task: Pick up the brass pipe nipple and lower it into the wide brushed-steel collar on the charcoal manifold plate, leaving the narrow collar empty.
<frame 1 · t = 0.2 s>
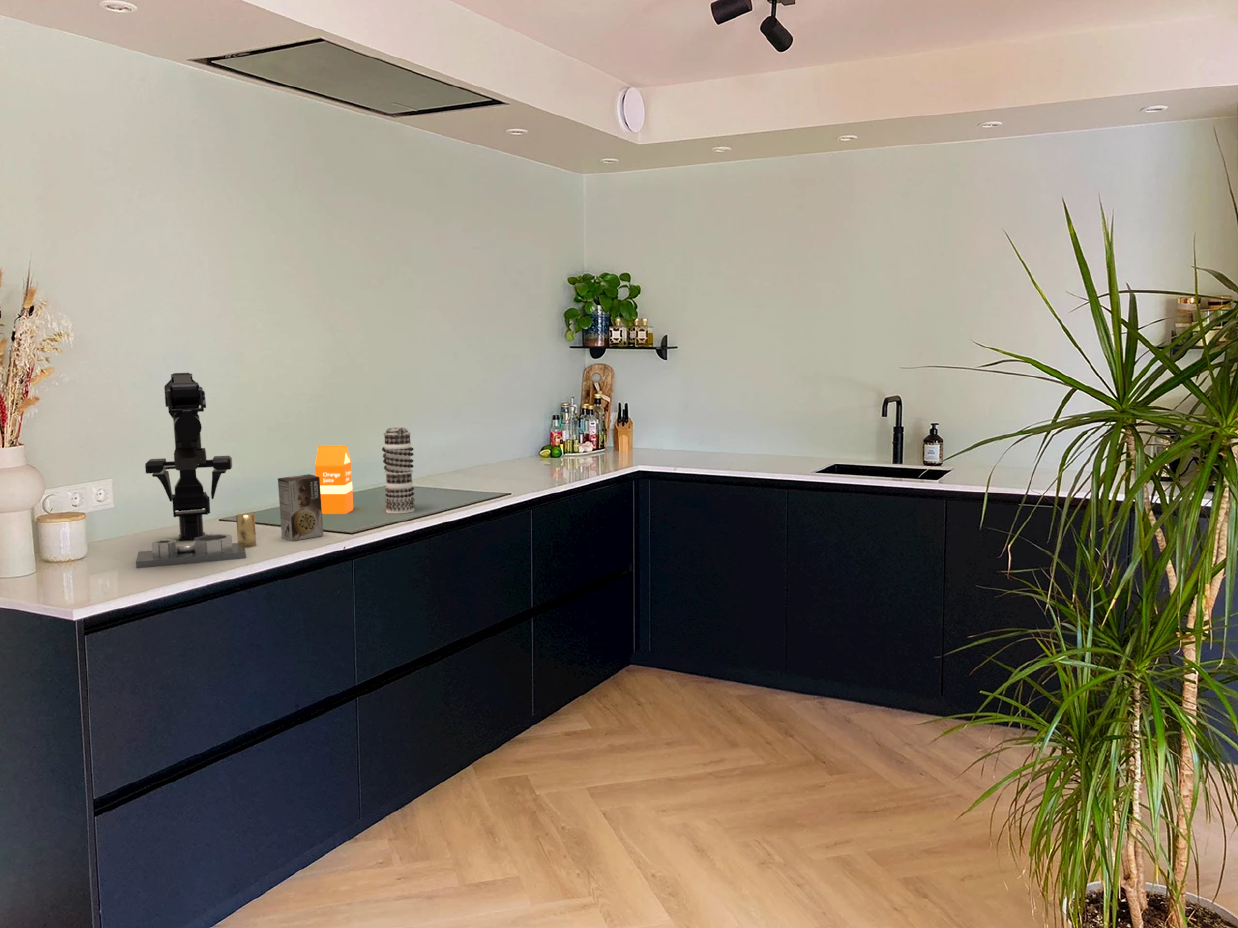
hand: (192, 500, 244), 14 cm above the worktop, fingers open, 9 cm apart
coffee box: (302, 537, 270), on the worktop
manifold: (192, 557, 247), on the worktop
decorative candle: (400, 511, 307), on the worktop
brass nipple: (247, 545, 260), on the worktop
orange juice: (335, 512, 307), on the worktop
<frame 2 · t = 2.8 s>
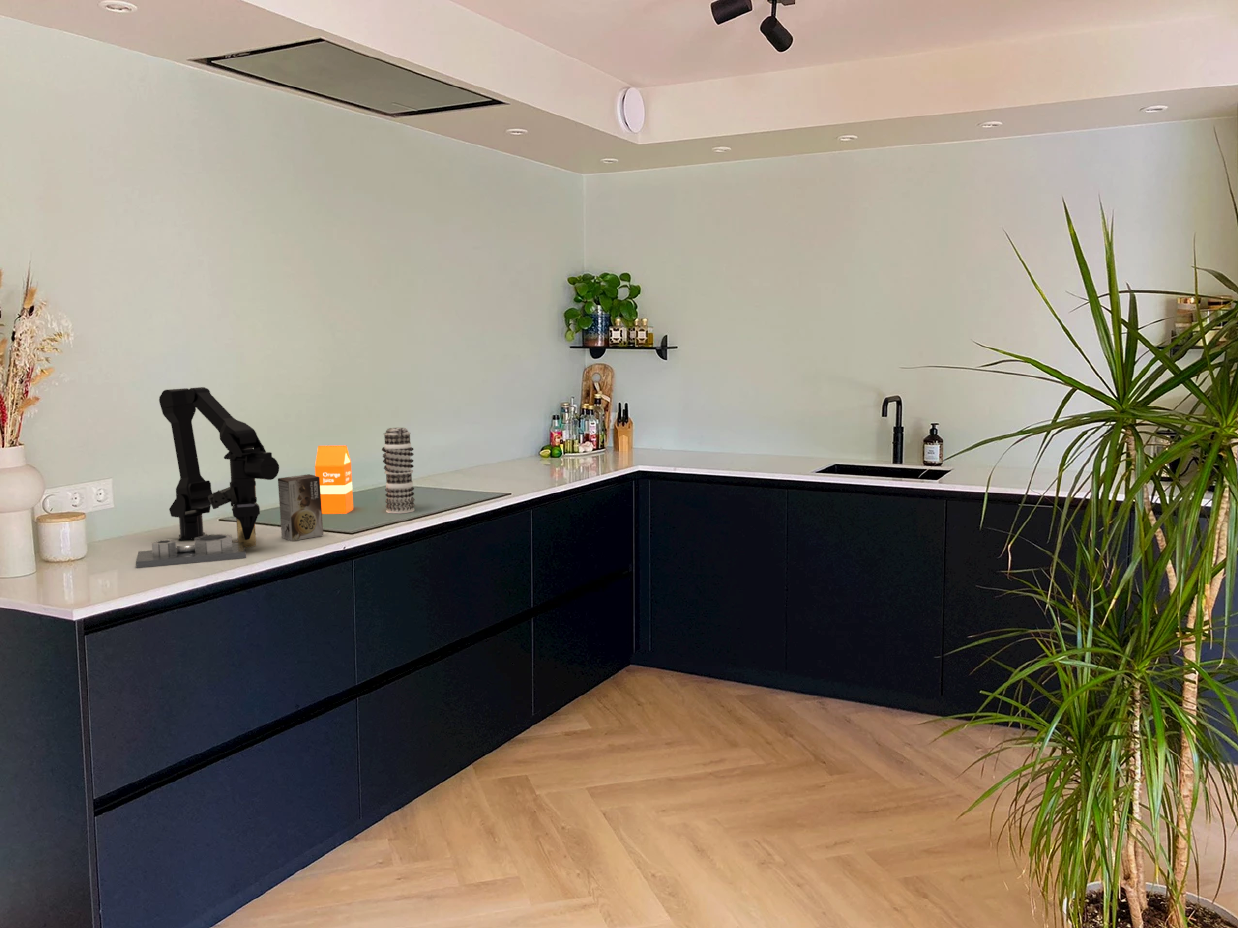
hand: (246, 537, 260), 2 cm above the worktop, fingers closed on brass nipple, 4 cm apart
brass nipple: (247, 545, 260), on the worktop, touching gripper
everything else where it was.
when the fingers open (5 cm above the worktop, at t = 6.9 s): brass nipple drops 2 cm, resting on manifold.
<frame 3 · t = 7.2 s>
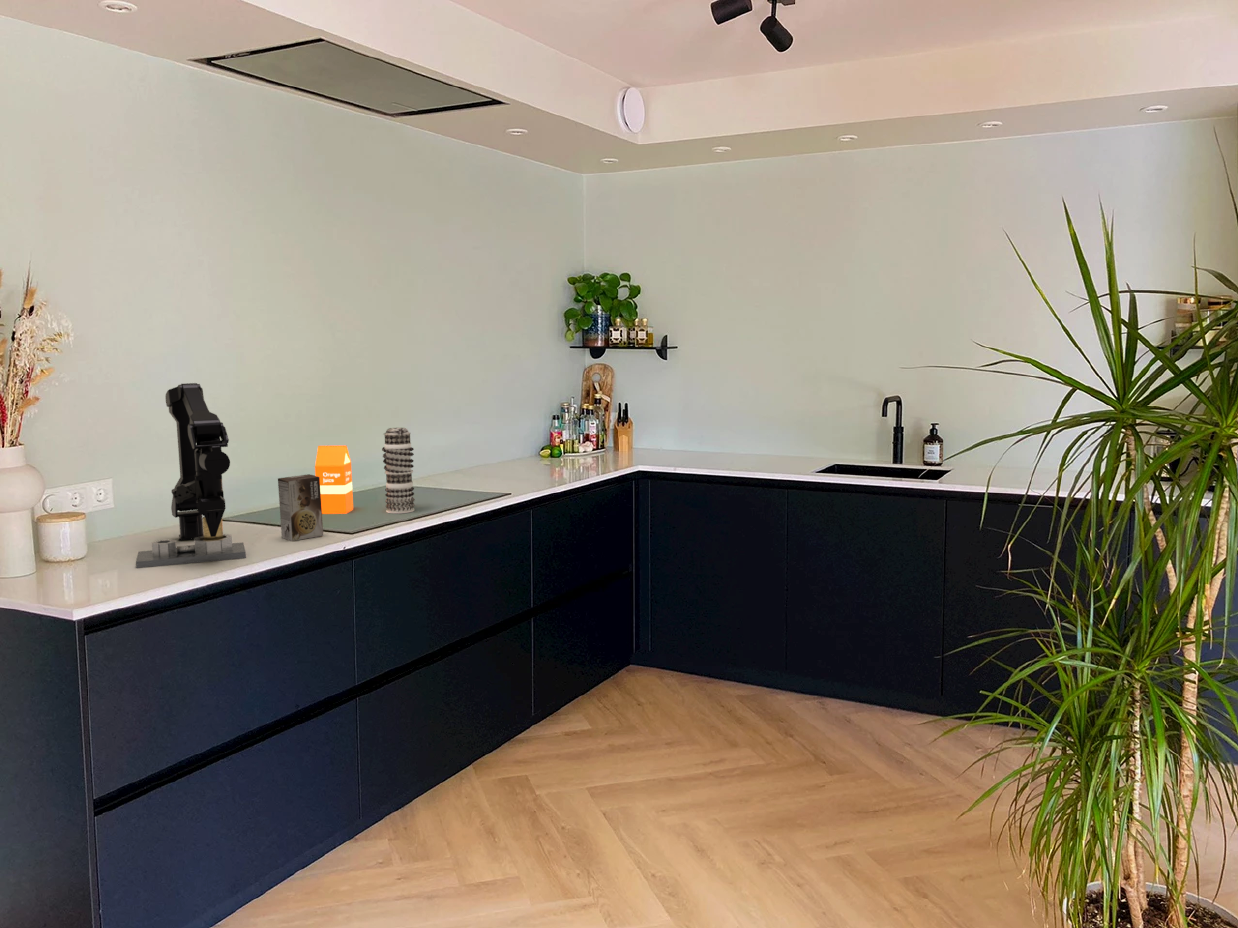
hand: (212, 533, 248), 5 cm above the worktop, fingers open, 7 cm apart
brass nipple: (214, 549, 249), point 2 cm above the worktop, touching manifold
everything else where it was.
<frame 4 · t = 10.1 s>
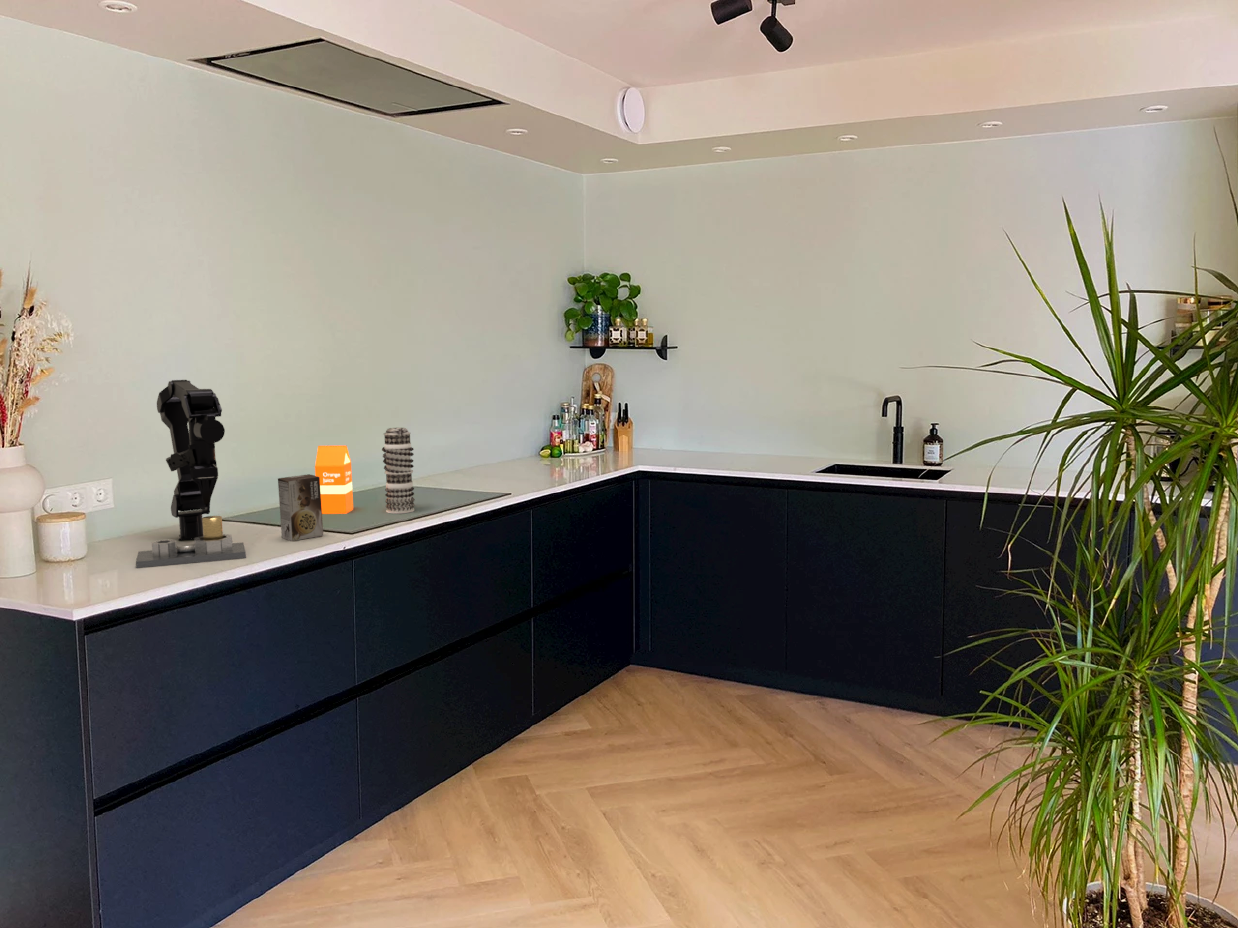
hand: (206, 501, 256), 12 cm above the worktop, fingers open, 9 cm apart
nothing on the worktop moved.
at the end: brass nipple 0.1 cm from the target spot on the manifold, point 1.5 cm above the manifold's base; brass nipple tilted 0°; the gripper is holding nothing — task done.
